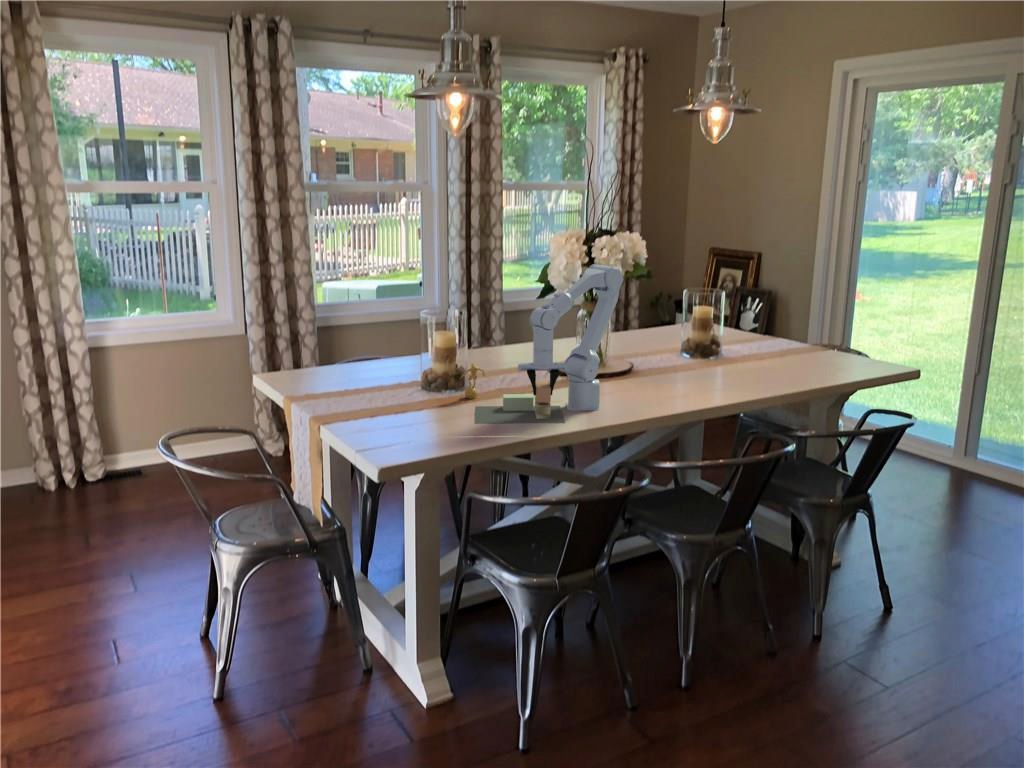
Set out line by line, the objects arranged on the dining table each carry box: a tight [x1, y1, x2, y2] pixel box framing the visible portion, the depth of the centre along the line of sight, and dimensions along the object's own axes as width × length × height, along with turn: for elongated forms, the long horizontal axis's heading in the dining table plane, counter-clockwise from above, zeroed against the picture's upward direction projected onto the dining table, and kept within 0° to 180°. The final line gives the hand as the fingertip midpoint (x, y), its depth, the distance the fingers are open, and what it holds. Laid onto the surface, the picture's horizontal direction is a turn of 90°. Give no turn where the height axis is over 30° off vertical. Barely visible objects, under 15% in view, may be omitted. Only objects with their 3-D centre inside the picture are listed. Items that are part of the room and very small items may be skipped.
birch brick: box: [534, 396, 552, 419], centre depth 246 cm, size 4×9×4 cm, turn 2°
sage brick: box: [502, 393, 534, 411], centre depth 252 cm, size 9×4×4 cm, turn 92°
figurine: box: [459, 363, 486, 400], centre depth 262 cm, size 8×6×12 cm
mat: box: [474, 405, 566, 425], centre depth 246 cm, size 26×18×1 cm
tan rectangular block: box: [534, 380, 552, 403], centre depth 245 cm, size 4×9×4 cm, turn 2°
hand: (542, 394), depth 245 cm, fingers open, 4 cm apart
